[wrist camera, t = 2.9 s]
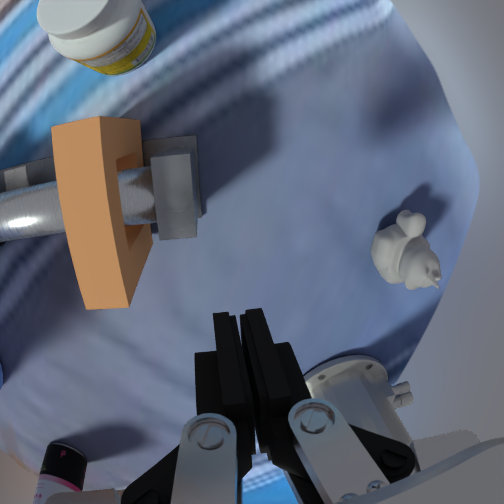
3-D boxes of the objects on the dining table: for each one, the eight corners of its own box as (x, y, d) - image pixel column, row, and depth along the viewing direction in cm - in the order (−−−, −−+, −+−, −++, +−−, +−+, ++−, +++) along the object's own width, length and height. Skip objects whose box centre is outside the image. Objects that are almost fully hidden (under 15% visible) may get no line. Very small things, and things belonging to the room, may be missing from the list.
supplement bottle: (162, 65, 18) (133, 24, 10) (91, 86, 18) (26, 67, 9) (152, 3, 16) (125, -61, 7) (84, 25, 16) (25, -19, 7)
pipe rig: (196, 135, 21) (192, 137, 14) (201, 216, 23) (201, 252, 17) (-29, 179, 18) (-80, 200, 12) (-16, 242, 20) (-61, 276, 14)
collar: (140, 120, 19) (99, 116, 11) (153, 243, 22) (129, 307, 14) (107, 125, 19) (51, 127, 11) (122, 246, 22) (86, 309, 14)
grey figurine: (354, 269, 27) (401, 318, 20) (372, 197, 25) (431, 228, 17) (401, 272, 28) (450, 315, 21) (419, 206, 26) (479, 236, 18)
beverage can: (95, 458, 34) (83, 543, 20) (76, 467, 34) (64, 543, 21) (57, 436, 31) (36, 524, 17) (42, 447, 32) (22, 524, 18)
